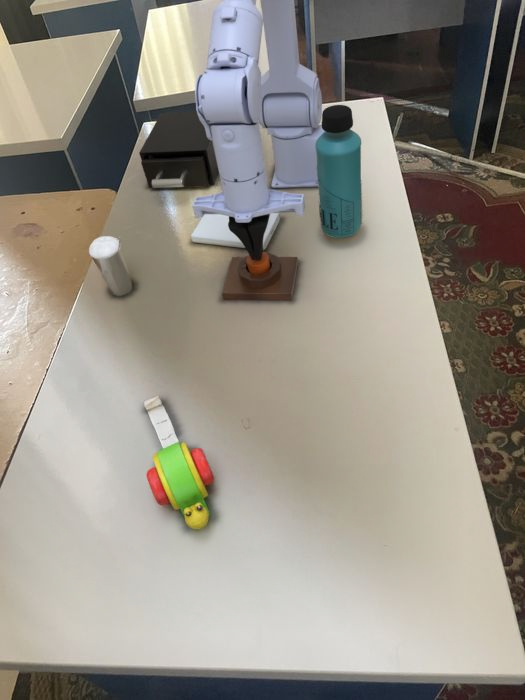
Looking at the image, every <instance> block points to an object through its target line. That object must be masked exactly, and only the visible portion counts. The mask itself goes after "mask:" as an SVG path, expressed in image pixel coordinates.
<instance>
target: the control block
mask: <svg viewBox="0 0 525 700" xmlns="http://www.w3.org/2000/svg"><path fill="white" fill-rule="evenodd" d="M264 252H265V253H267V254H268V256H269V261H270V269H269V270H268V271H267V272H266V273H263V274H252V273H250V272H249V270H248V265H247V260H246V259H247V257H248V255H249V254H248V255H246V256H232V258H231V260H230V264H229V267H228V270H227V275H226V278H225V282H224V285H223V289H222V292H221V295H222V298H223V300H225V301H226V300H229V301H230V300H231V301H235V300H237V301H242V300H243V301H244V300H245V301H292V300H293V298H294V297H293V296H294V291H295V286H296V285H295V284H296V278H297V273H298V267H299V259H298V256H278V255H275V254H273V253H272V252H271V253H270V252H267V251H264Z"/></svg>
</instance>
